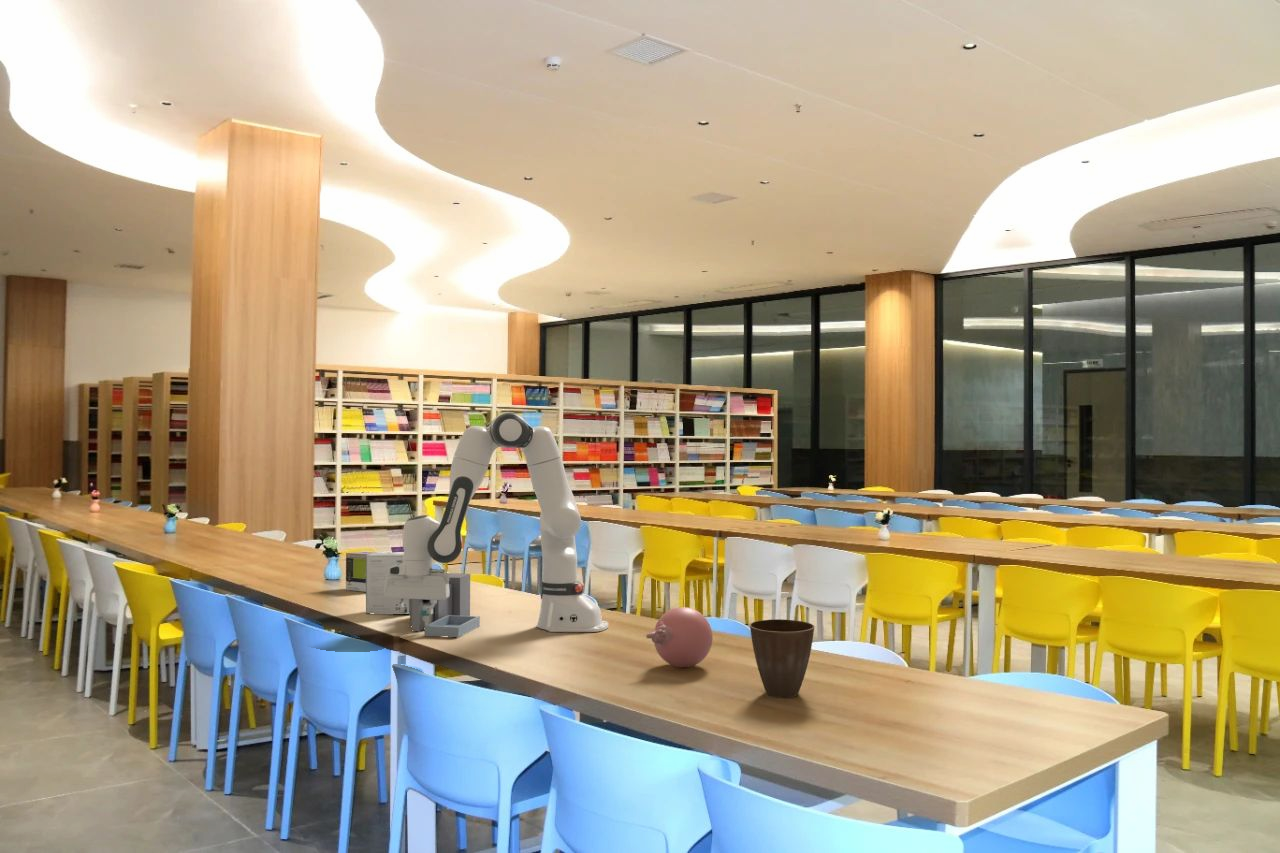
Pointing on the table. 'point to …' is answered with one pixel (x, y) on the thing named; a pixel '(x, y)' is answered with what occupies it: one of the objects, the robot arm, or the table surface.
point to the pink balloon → (682, 637)
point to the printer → (453, 598)
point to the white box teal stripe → (421, 614)
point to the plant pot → (782, 654)
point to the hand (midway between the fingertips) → (416, 613)
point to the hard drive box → (381, 584)
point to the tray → (452, 626)
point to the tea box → (357, 570)
